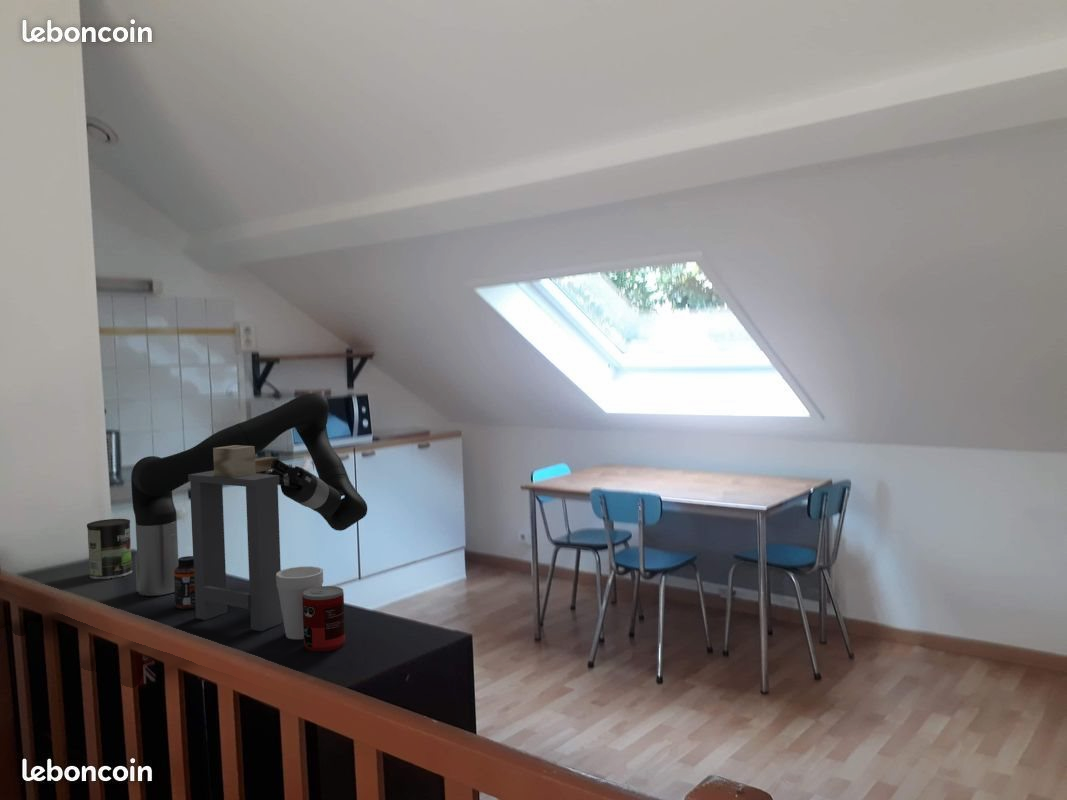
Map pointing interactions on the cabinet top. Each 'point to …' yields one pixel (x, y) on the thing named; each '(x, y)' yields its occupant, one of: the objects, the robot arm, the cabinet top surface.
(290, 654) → the cabinet top surface
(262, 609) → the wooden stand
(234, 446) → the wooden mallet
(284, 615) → the foam cup
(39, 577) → the cabinet top surface
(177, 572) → the supplement bottle
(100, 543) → the coffee can
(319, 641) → the canned food
